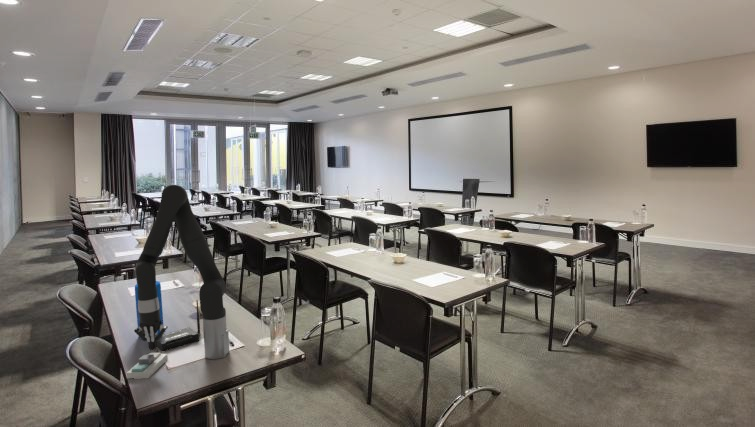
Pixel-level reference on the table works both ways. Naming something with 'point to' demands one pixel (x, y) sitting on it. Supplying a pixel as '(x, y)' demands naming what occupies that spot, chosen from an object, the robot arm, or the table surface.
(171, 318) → the table surface
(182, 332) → the black wifi router
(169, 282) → the table surface
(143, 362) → the key
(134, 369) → the key
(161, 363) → the keypad
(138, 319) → the thermos
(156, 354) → the key
